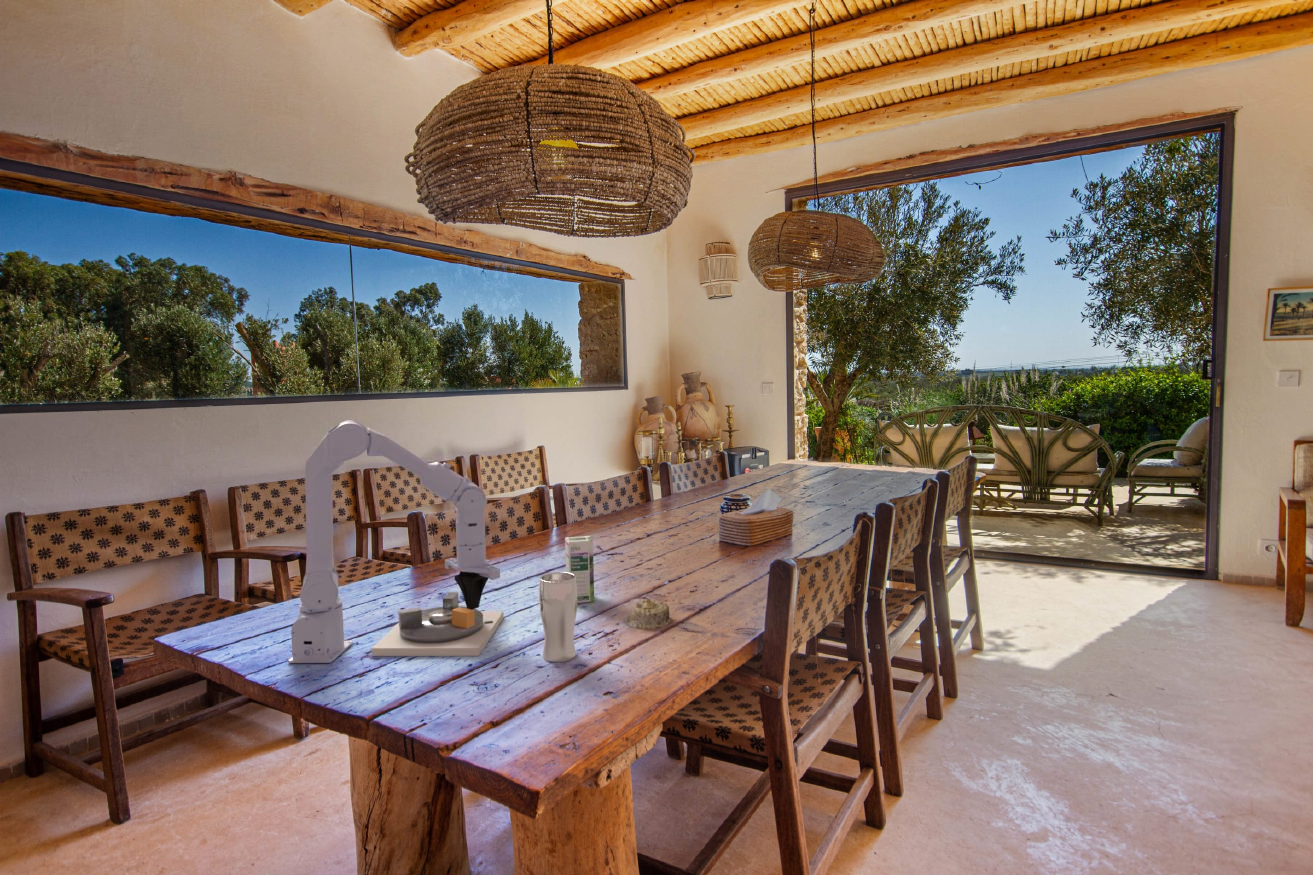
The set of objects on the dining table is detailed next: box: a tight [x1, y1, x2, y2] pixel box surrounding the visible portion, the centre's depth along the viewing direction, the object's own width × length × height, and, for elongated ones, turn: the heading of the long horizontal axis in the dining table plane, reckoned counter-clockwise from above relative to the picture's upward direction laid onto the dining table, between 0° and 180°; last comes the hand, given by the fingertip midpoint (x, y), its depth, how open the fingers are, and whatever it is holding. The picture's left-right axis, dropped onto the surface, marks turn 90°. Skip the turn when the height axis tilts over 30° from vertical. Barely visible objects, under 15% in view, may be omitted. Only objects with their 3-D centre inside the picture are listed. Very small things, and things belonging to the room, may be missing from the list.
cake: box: [624, 598, 671, 630], centre depth 146 cm, size 10×10×5 cm
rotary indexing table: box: [398, 591, 483, 643], centre depth 138 cm, size 16×16×5 cm
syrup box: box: [564, 535, 595, 604], centre depth 160 cm, size 6×6×14 cm
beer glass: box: [538, 571, 578, 663], centre depth 128 cm, size 7×7×15 cm
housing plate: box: [371, 610, 504, 657], centre depth 139 cm, size 20×20×2 cm
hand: (473, 607), depth 142 cm, fingers closed
